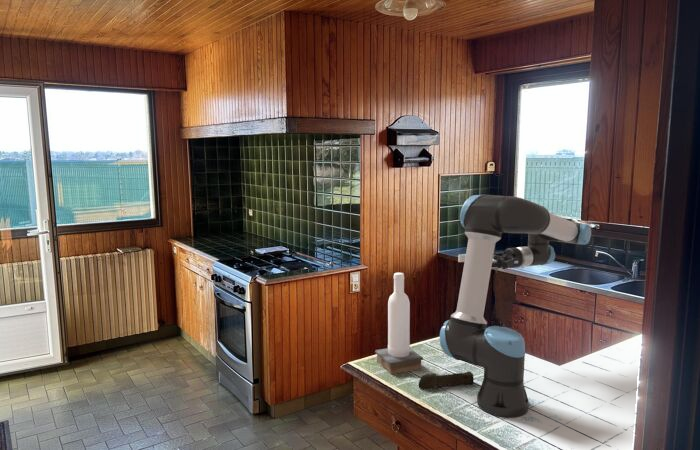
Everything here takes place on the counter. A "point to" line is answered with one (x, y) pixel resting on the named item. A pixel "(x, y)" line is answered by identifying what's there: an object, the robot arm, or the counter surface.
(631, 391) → the counter surface
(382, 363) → the slate stand
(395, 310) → the bottle
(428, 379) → the hand tool
